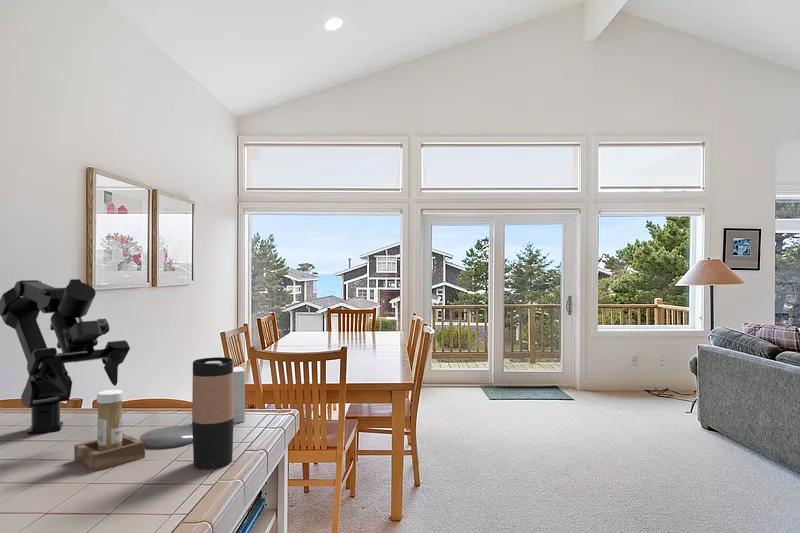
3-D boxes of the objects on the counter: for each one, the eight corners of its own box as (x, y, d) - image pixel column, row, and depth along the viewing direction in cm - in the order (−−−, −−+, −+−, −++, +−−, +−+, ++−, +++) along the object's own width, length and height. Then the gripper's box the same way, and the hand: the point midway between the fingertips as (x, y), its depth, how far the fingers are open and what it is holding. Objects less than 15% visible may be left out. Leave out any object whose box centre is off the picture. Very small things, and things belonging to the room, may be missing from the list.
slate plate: (138, 435, 122) (138, 430, 122) (199, 427, 128) (199, 423, 128) (140, 452, 111) (140, 447, 111) (206, 442, 117) (206, 438, 117)
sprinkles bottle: (124, 459, 106) (124, 392, 106) (97, 464, 104) (97, 395, 104) (121, 453, 110) (121, 388, 110) (95, 457, 108) (95, 390, 108)
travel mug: (198, 456, 108) (198, 357, 108) (237, 455, 109) (237, 356, 109) (186, 470, 100) (186, 364, 101) (228, 469, 101) (228, 363, 101)
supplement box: (245, 422, 133) (245, 371, 133) (213, 425, 130) (213, 373, 130) (243, 414, 140) (242, 366, 140) (212, 417, 137) (212, 367, 137)
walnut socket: (74, 460, 106) (74, 445, 106) (122, 447, 114) (122, 433, 114) (95, 471, 100) (95, 455, 100) (144, 457, 108) (144, 442, 108)
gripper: (32, 309, 108) (53, 370, 101) (126, 304, 123) (150, 357, 116) (18, 345, 113) (37, 406, 106) (110, 336, 127) (132, 389, 121)
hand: (93, 388), depth 112 cm, fingers open, 9 cm apart
